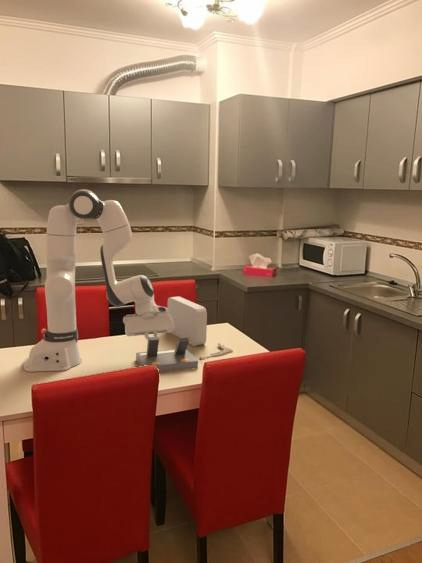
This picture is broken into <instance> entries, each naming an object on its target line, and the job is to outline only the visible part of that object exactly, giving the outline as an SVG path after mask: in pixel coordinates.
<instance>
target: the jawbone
mask: <svg viewBox="0 0 422 563" xmlns="http://www.w3.org/2000/svg"><path fill="white" fill-rule="evenodd" d="M217 346H218V347H219V348H220V349H221V350H220V351H217V352H214V353H211V354H210V355H209V356H199V358H198V359H199V360H200V361H201V360H202V359H203V360H206V359H209V358H210V359H211V358H217V357H222V356H227V355H228V354H230V353H233V352H234V350H233V349H232V348H228V347H226V346H225V345H224V344H221V343H220V342H219V343H217ZM205 358H206V359H205Z"/></svg>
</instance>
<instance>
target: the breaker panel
mask: <svg viewBox="0 0 422 563" xmlns="http://www.w3.org/2000/svg"><path fill="white" fill-rule="evenodd" d="M175 349H176V348H171V349H170V348H169V349H161V350H160V349H158V352H157V354H158V357H149V358H146V354H147V351H142V352H136V353H135V360H136V362H137V364H138V366H139V367H140V366H144V365H155V366H156V367H157V368H158V369H159V372H160V373H169V372H178V371H186V369H187V370H192V368H195V369H198V368H199V360H198V359H197V357H195V356H194V355H193V354H192V352H190V350H189V349H188V348H187V349H186V352H185V354H179V355H174V351H175ZM160 373H159V374H160Z"/></svg>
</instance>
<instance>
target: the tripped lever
mask: <svg viewBox="0 0 422 563" xmlns="http://www.w3.org/2000/svg"><path fill="white" fill-rule="evenodd" d="M159 342H160V338H159V336H157V337H155V336H149V337H148V340H147V346H146V352H147V354H146V358H149V357H158V354H157V352H158V351H159Z"/></svg>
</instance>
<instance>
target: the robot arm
mask: <svg viewBox="0 0 422 563" xmlns="http://www.w3.org/2000/svg"><path fill="white" fill-rule="evenodd" d="M68 201H69V202H68V203H67V204H64V205H62V204H60V205H55V206H53V207H52V208H51V209H50V210H49V212H48V217H47V223H46V224H47V225H46V242H45V243H46V244H45V245H46V248H45V249H46V250H45V251H46V252H45V254H46V255H45V256H46V258H45V260H46V279H45V282H44V294H45V305H46V306H45V307H46V317H47V329H46V328H42V329H41V334H42V339H41V340H40V341H39V342H37V343H36V344H35V345H33V346H32V347H31V348H30V351H29V354H28V357H27V358H26V359H24V360H23V362H22V363H23V364H22V367H23V370H24V371H26V372H29V373H31V372H32V373H33V372H57V371H58V372H59V371H68V370H69V369H71V368H73V367H75V366H78V365H80V363H81V362H82V357H81V354H80V351H79V345H78V340H79V332H78V331H79V330H78V327H77V313H76V312H77V308H76V306H77V305H76V259H77V258H76V256H77V255H76V252H77V226H78V222H79V220H96V221H97V222H98V223H99V226H100V228H101V231H102V234H103V244H102V245H101V246H100V250H99V251H100V259H101V260H100V261H101V266H102V271H103V273H102V274H103V278H104V282H105V289H106V290H105V291H106V292H105V294H106V299H107V301H108V303H109V304H110V305H112V306H113V307H114V306H115V307H118V308H119V307H122V306H124V305H126V304H128V303H133V302H134V303H135V306H134V307H135V308H134V309H135V313H134V314H133V313H132V314H126V315H124V316H123V318H122V322H123V324H124V331H125V332H124V333H125V336H126V337H138V336H144V338H145V339H146V340H147V341H148V337H150V336H149V335H152V337H158V335H159V334H166V333H167V334H168V333H171V332H172V331H173V329H174V323H173V320H172V317H171V315H170V314H168V307H166V306H160V305H157V304H156V301H155V291H154V286H153V282H152V280H151V279H150V278H149V277H148V276H146V275H143V274H139V275H135V276H134V275H133V276H132V277H129V278H126V279H123V280H119V281H118V280H117V279H116V274H115V273H116V272H115V267H114V259H115V258H116V256H117V255H118V254H120V253H121V252H122V251H124V250H125V249H126V248H127V247H128V246H129V245H130V244H131V242H132V239H133V232H132V228H131V225H130V222H129V220H128V217H127V215H126V213H125V211H124V210H123V207H122V205H121V203H120V202H118V201H117V200H114V199H108V200H104V201H103V200H100V199H99V198H98V196H97V194H96V193H95V192H93V190H89V189H86V188H82V189H78V190H76V191H74V192H73V194H72V195H71V196H70V198H69V200H68Z"/></svg>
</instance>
